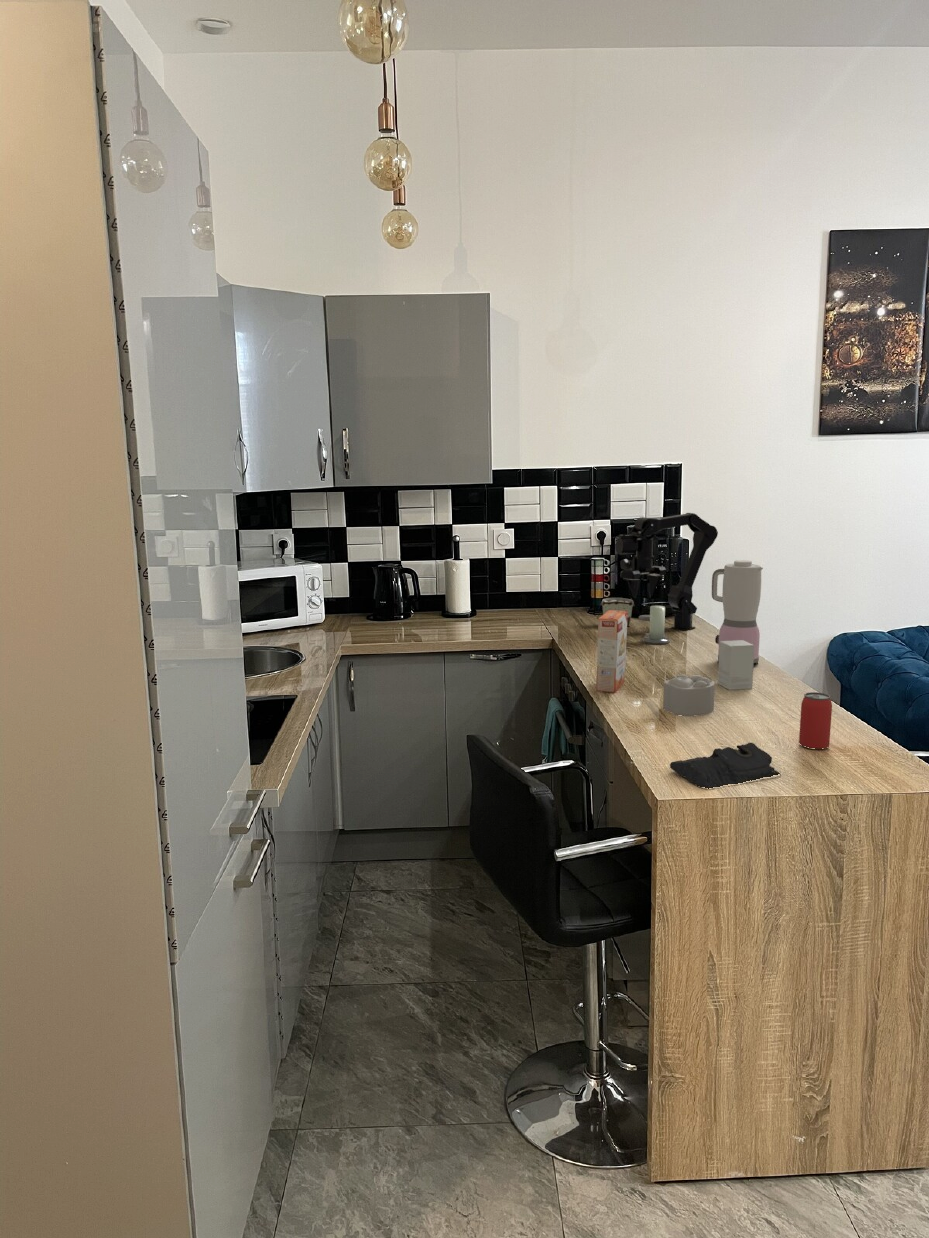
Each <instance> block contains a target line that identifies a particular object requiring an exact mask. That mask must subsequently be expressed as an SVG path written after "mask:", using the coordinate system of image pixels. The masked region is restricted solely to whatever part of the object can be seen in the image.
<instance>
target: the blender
mask: <svg viewBox="0 0 929 1238" xmlns="http://www.w3.org/2000/svg"><path fill="white" fill-rule="evenodd" d="M763 569H764V568H763V567H762V566H761V565H759V564H755V563H754V564H753V562H752V561H751V560H747V559H746V560H745V559H738V560H737V559H735V560H734V562H733V563H725V565H724V568H718V569H717V568H716V570H714V571H713V573H712V577H711V598H712V599H713V600H714V601H716V602H719V603H722V606H723V622H722V624H721V626H720V628H719V630H718V631H719V633H718V634H717V635H716V636H715V640H714V642H715V644H717V645H718V654H717V661H718V664H719V647H720V641H734V640H744V641H746V642H748V643H750V644H753V645H754V663H753V664H757V665H758V664H759V662H760V661H759V660H760V655H759V654H760V653H759V651H760V638H761V636H760V635H761V633H760V628H759V626H758V624H757V615H758V611H759V606H760V603H761V595H762V594H761V593H762V571H763ZM720 575H723V578H722V596H720V595H718V580H719V576H720Z"/></svg>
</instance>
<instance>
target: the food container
mask: <svg viewBox="0 0 929 1238" xmlns="http://www.w3.org/2000/svg"><path fill="white" fill-rule="evenodd" d="M600 606H602V615H604V614H605V613H606V612H607V611H609V610H614V611H626V612H628V615H627V626H630V627H631V620H632V619H631V618H632V613H633V612H632V611H633V607H635V603H634V600H633V599H629V598H623V597H607V598H603V599H602V601H601V602H600Z"/></svg>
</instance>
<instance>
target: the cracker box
mask: <svg viewBox="0 0 929 1238" xmlns="http://www.w3.org/2000/svg"><path fill="white" fill-rule="evenodd" d="M627 615H628V612H626V611H614V610H609V611H607V612H606V613H605V614H604V615H603V614H602V615H601V616H600V617H598V624H597V625H598V626H597V648H596V649H597V653H596V654H597V655H596V657H597V658H596V676H595V677H596V682H595V691H596V692H601V691H602V693H612V694H616V693H617V691H618V690H619V689H620V687H621V686H622V685H623V684H624V682H625V681H626V680H625V679H626V660H627V659H626V655H627V654H626V653H627V652H626V651H627V635H628V634H627V632H628V631H627V630H628V627H627Z"/></svg>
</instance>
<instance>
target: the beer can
mask: <svg viewBox="0 0 929 1238" xmlns="http://www.w3.org/2000/svg"><path fill="white" fill-rule="evenodd" d="M803 696H804V697H803V699H802V701H801V705H800V706H801V707H800V717H799V719H800V720H799V734H798V738H799V739H798V744H799V743H800V744H801V745H802V746H806V747H809V748H815V749H822V748H826V749H828V748H829V747H830V740H831V728H832V727H831V725H832V715H833V713H832V712H833V703H832V700H831V695H829V694H828V693H825V692H818V691H817V692H816V691H813V692H810V691H809V692H805V693H804V695H803ZM800 744H799V745H800ZM801 745H800V746H801ZM802 746H801V747H802ZM827 747H828V748H827Z"/></svg>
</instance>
